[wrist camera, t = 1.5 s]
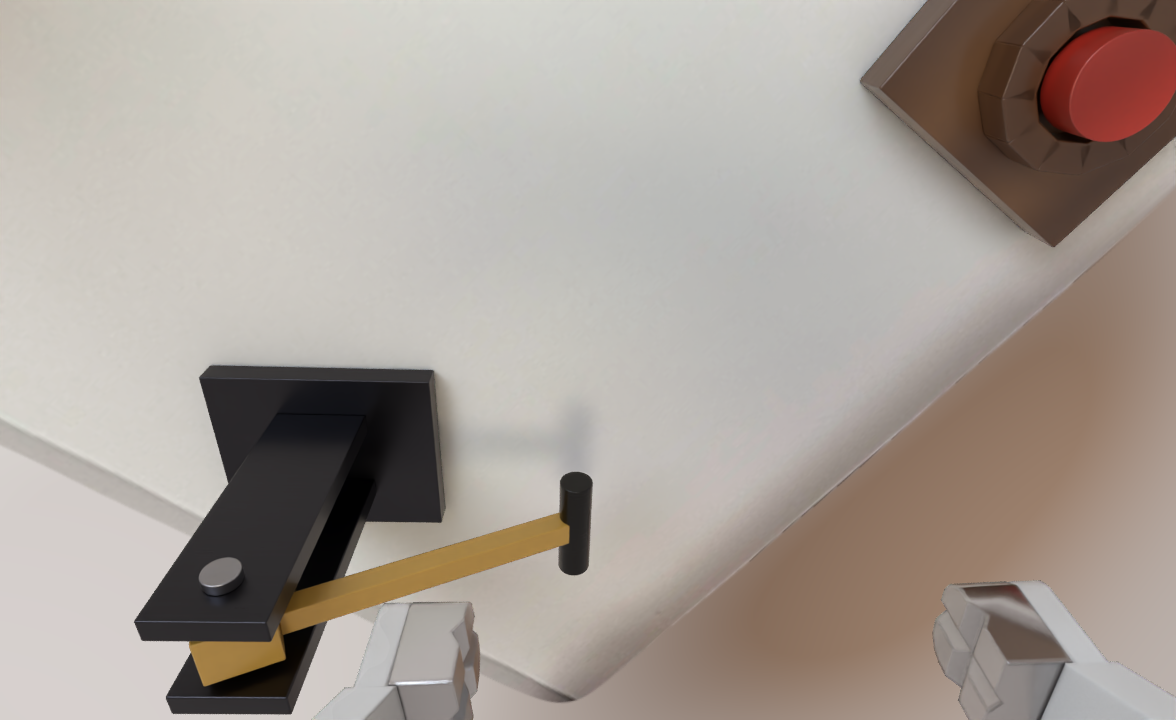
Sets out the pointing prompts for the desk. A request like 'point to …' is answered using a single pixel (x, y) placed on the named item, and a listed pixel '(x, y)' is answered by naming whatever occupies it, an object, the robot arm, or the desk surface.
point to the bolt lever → (413, 579)
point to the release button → (1109, 83)
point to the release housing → (1015, 102)
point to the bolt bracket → (291, 513)
